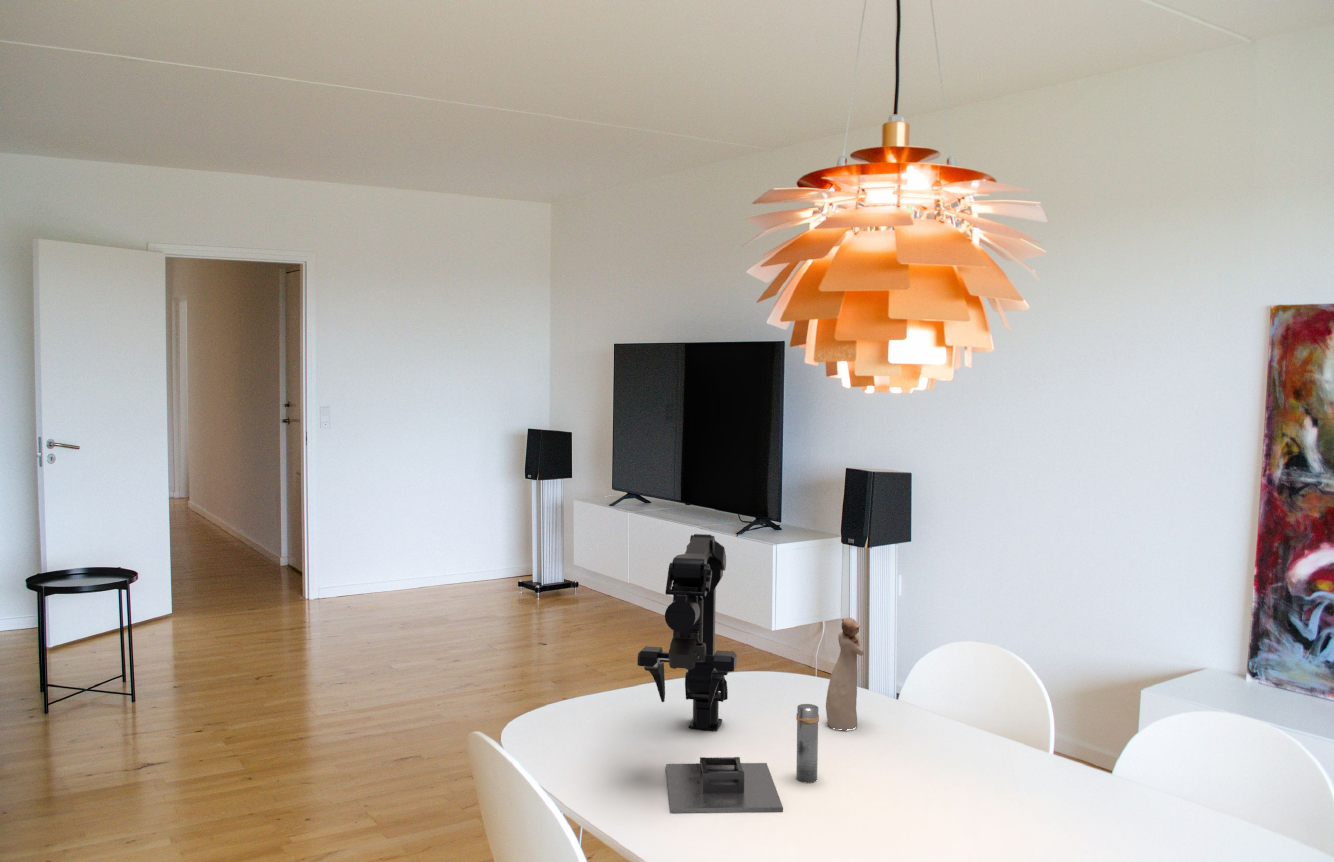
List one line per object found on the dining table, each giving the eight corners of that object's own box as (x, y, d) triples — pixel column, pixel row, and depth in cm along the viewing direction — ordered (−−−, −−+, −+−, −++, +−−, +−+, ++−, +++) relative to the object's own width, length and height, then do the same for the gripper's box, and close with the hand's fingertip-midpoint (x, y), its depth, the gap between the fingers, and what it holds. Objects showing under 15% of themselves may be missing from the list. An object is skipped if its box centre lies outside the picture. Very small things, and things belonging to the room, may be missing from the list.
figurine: (854, 735, 210) (856, 621, 208) (819, 726, 215) (821, 615, 213) (869, 725, 216) (872, 614, 214) (835, 716, 221) (837, 608, 220)
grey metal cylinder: (796, 772, 189) (798, 702, 188) (819, 775, 188) (820, 704, 187) (794, 781, 185) (795, 709, 184) (816, 784, 184) (818, 712, 183)
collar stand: (666, 767, 191) (666, 745, 191) (766, 766, 192) (766, 744, 192) (670, 812, 171) (671, 788, 171) (782, 811, 172) (783, 786, 172)
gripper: (632, 627, 181) (630, 711, 180) (731, 633, 177) (729, 718, 177) (644, 617, 192) (642, 696, 191) (737, 622, 188) (736, 702, 188)
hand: (686, 703), depth 187 cm, fingers open, 9 cm apart
